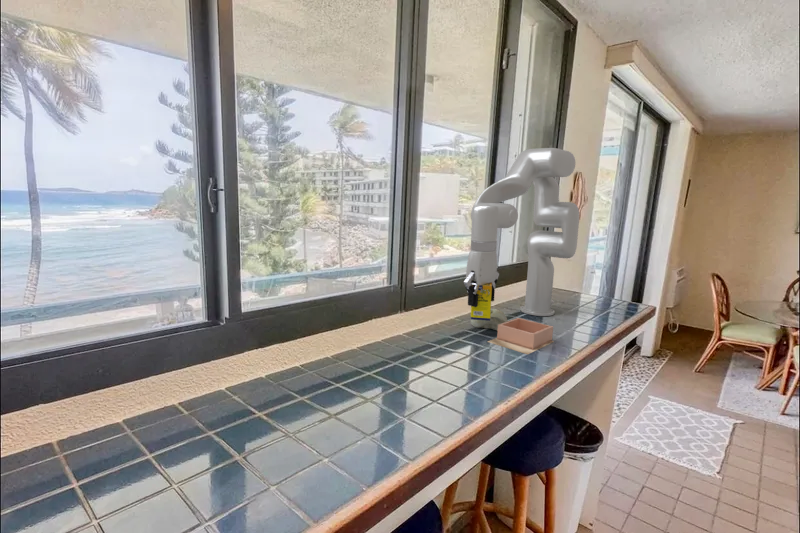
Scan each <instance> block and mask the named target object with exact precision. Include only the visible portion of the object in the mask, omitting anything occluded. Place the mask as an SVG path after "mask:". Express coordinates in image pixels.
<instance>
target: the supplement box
mask: <svg viewBox="0 0 800 533" xmlns="http://www.w3.org/2000/svg"><path fill="white" fill-rule="evenodd" d="M474 283H476V282H474ZM472 287H473V288H475V286H473V285H472ZM476 294H478V306H477V307H473V306H470V321H471V320H486V321H490V315H491V309H492V301H491V295H492V283H488V284H485V285H481V286H479V288H478V291H477V293H476Z"/></svg>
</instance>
